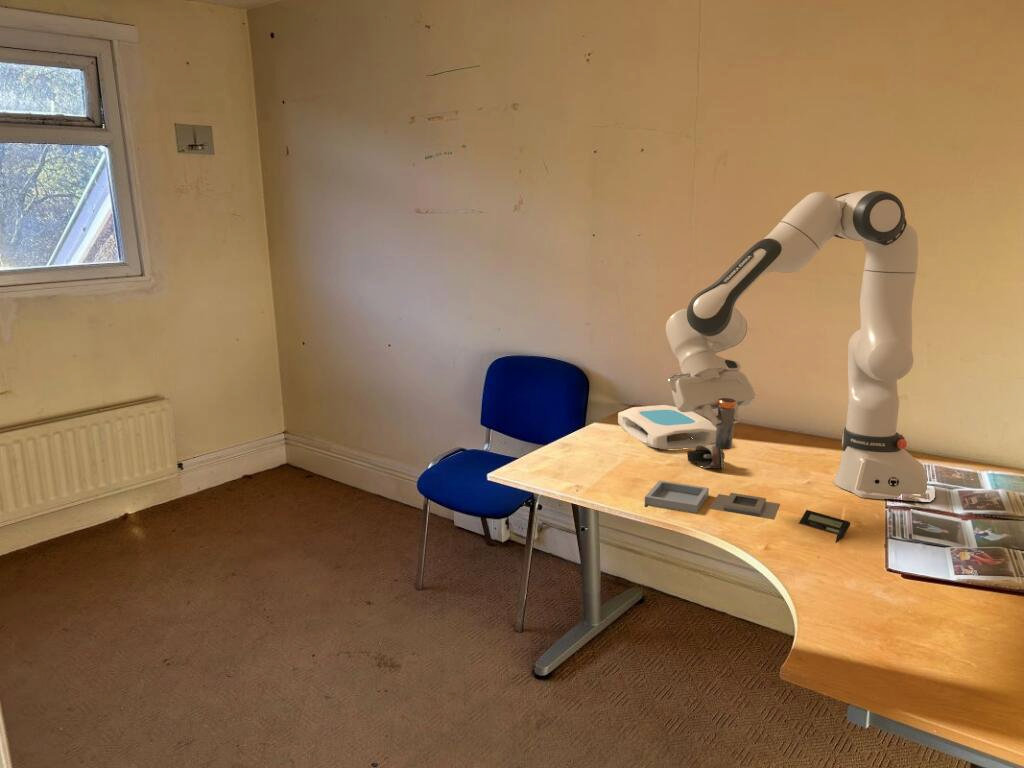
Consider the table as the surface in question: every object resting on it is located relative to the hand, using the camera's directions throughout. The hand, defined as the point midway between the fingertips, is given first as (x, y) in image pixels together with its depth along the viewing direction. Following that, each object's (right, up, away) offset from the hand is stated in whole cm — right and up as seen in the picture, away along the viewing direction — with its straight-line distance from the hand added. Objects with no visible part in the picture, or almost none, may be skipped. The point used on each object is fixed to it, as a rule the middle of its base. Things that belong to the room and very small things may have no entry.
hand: (726, 423), depth 166 cm
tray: (-9, -19, +8) cm, 23 cm away
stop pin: (0, -5, +2) cm, 6 cm away
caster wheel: (+4, -13, +34) cm, 37 cm away
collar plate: (+5, -20, +4) cm, 21 cm away
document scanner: (-1, -7, +61) cm, 61 cm away
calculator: (+16, -23, -10) cm, 30 cm away
